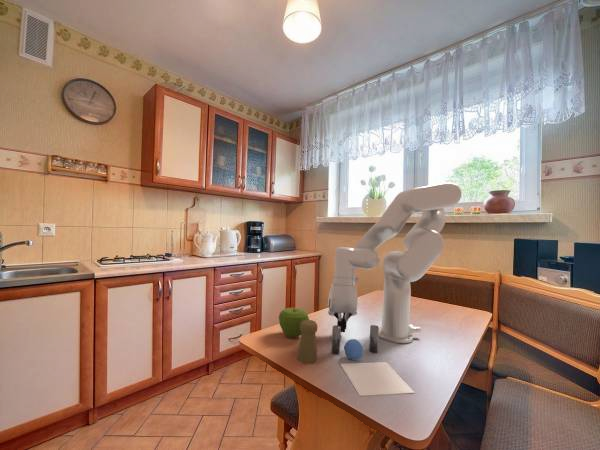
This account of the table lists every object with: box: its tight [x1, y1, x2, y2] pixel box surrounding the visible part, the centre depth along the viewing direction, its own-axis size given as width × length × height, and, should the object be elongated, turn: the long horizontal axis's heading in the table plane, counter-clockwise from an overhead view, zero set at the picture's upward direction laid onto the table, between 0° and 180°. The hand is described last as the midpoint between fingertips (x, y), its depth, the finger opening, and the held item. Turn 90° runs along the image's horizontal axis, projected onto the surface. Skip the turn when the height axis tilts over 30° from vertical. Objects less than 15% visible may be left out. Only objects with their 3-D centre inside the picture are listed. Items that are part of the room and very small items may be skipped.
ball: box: [343, 338, 364, 361], centre depth 78 cm, size 6×6×6 cm
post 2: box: [368, 324, 380, 354], centre depth 83 cm, size 3×3×8 cm
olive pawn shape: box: [296, 319, 318, 365], centre depth 77 cm, size 6×6×11 cm
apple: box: [278, 307, 310, 339], centre depth 92 cm, size 11×10×10 cm
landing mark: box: [340, 361, 415, 397], centre depth 69 cm, size 14×14×1 cm
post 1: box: [330, 324, 342, 355], centre depth 81 cm, size 3×3×8 cm
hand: (341, 330), depth 95 cm, fingers closed
